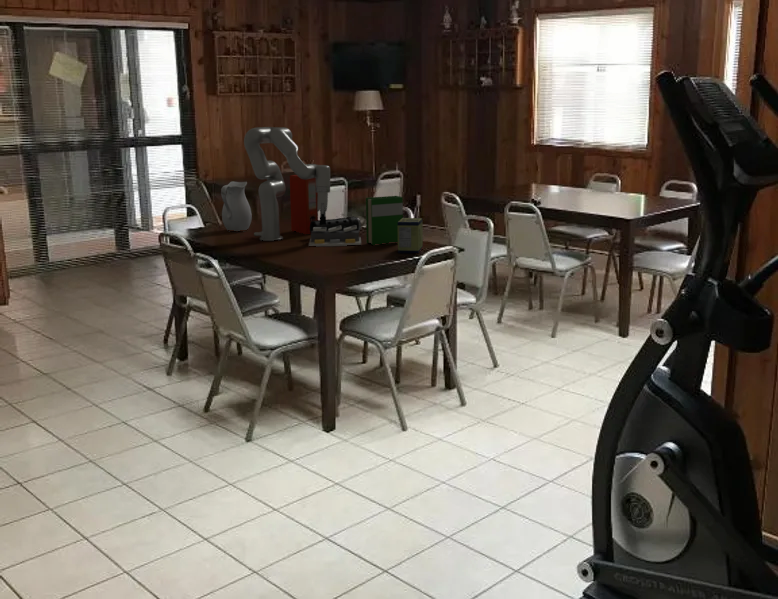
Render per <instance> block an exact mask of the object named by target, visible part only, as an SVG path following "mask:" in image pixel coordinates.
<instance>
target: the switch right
mask: <svg viewBox="0 0 778 599" xmlns="http://www.w3.org/2000/svg"><path fill="white" fill-rule="evenodd" d="M354 229H357V226H356V225H354V226H351V227H347V228H344V232H347V231H351V230H354Z"/></svg>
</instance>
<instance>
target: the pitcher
mask: <svg viewBox="0 0 778 599" xmlns="http://www.w3.org/2000/svg"><path fill="white" fill-rule="evenodd" d="M247 185H248V182H247V181H230V182H229V183H228V184H226V185H223V186H222V187H221V189H220V190H221V191H220V195H221V199H222V202H223V206H222V210H221V218H222V219H221V220H222V223H223V226H224V227H225V229H226V230H227V231H228V230H234V231H240V230H247V229H248V230H249V228H250V225H251V223H252V219H253V217H252V208H251V206H250V203H249V201H248V199H247V197H246V194H245V189H246V187H247ZM248 230H247V231H248Z"/></svg>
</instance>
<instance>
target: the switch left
mask: <svg viewBox="0 0 778 599" xmlns="http://www.w3.org/2000/svg"><path fill="white" fill-rule="evenodd" d="M313 231H326V227H313Z"/></svg>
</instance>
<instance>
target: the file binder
mask: <svg viewBox="0 0 778 599" xmlns="http://www.w3.org/2000/svg"><path fill="white" fill-rule="evenodd" d="M289 189H290V190H289V192H290V193H289V197H290V201H289V202H290V226H291V230H292V231H291V230H290V231H291V232H294V231H296V232H295V233H298V232H299V233H298V234H302V233H303V234H302V235H306V234H310V235H311V233H310V223H311V222H312V221H319V212H318V211H317V197H318V193H317V192H316V178H312V179H306V180H304V179H301V178H299V177H298V176H297V175H296V174H292V175H289Z"/></svg>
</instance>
